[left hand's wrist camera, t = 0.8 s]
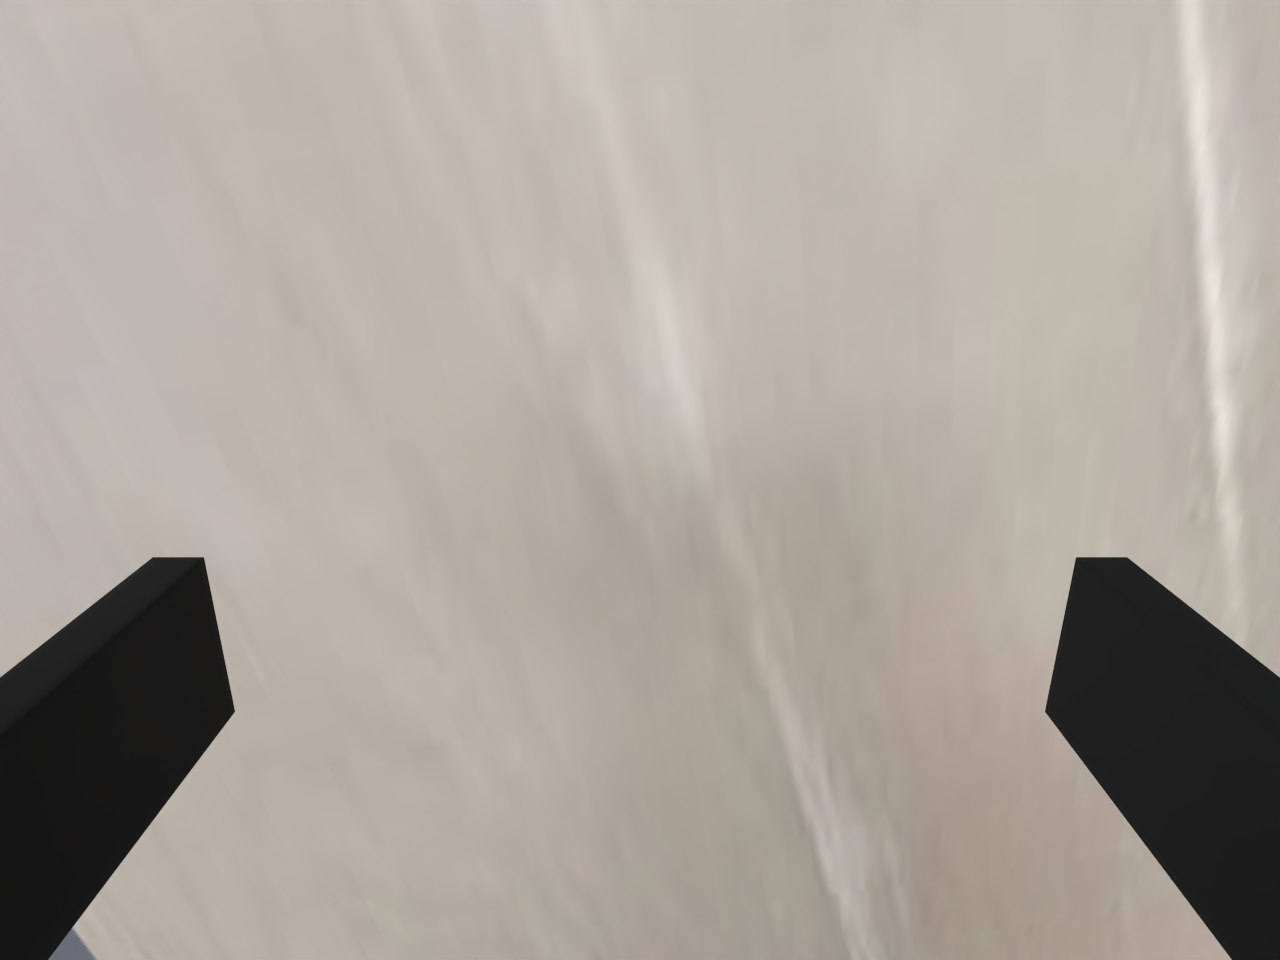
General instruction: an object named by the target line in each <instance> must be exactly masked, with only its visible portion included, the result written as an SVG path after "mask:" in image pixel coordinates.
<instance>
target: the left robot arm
mask: <svg viewBox="0 0 1280 960" xmlns="http://www.w3.org/2000/svg"><path fill="white" fill-rule="evenodd" d="M234 712H235V710H234V705H233V700H232V695H231V690H230V685H229V680H228V675H227V670H226V665H225V660H224V655H223V650H222V645H221V640H220V635H219V630H218V625H217V620H216V615H215V610H214V605H213V600H212V596H211V591H210V586H209V581H208V576H207V571H206V566H205V561H204V557H153V558H152V559H150V560H149V561H148V562H147V563H145V564H144V565H143V566H141V567H140V568H139V569H138V570H136V571H135V572H134V573H133V574H131V575H130V576H129V577H127V578H126V579H125V580H124V581H122V582H121V583H120V584H119V585H117V586H116V587H115V588H113V589H112V590H111V591H110V592H108V593H107V594H106V595H105V596H103V597H102V598H101V599H100V600H98V601H97V602H96V603H94V604H93V605H92V606H91V607H89V608H88V609H87V610H86V611H84V612H83V613H82V614H80V615H79V616H78V617H77V618H75V619H74V620H73V621H72V622H70V623H69V624H68V625H67V626H65V627H64V628H63V629H61V630H60V631H59V632H58V633H56V634H55V635H54V636H53V637H51V638H50V639H49V640H47V641H46V642H45V643H44V644H42V645H41V646H40V647H39V648H37V649H36V650H35V651H33V652H32V653H31V654H30V655H28V656H27V657H26V658H25V659H23V660H22V661H21V662H20V663H18V664H17V665H16V666H14V667H13V668H12V669H11V670H9V671H8V672H7V673H6V674H4V675H3V676H2V677H0V960H48V959H49V958H50V956H51V955H52V954H53V952H54V951H55V950H56V948H57V947H58V946H59V944H60V943H61V942H62V940H63V939H64V938H65V936H66V935H67V934H68V932H69V931H70V930H71V928H72V927H73V926H74V924H75V923H76V922H77V920H78V919H79V918H80V916H81V915H82V914H83V913H84V911H85V910H86V909H87V907H88V906H89V905H90V903H91V902H92V901H93V899H94V898H95V897H96V895H97V894H98V893H99V891H100V890H101V889H102V887H103V886H104V885H105V883H106V882H107V881H108V879H109V878H110V877H111V875H112V874H113V873H114V871H115V870H116V869H117V867H118V866H119V865H120V863H121V862H122V861H123V859H124V858H125V857H126V855H127V854H128V853H129V851H130V850H131V849H132V847H133V846H134V845H135V843H136V842H137V841H138V840H139V838H140V837H141V836H142V834H143V833H144V832H145V830H146V829H147V828H148V826H149V825H150V824H151V822H152V821H153V820H154V818H155V817H156V816H157V814H158V813H159V812H160V810H161V809H162V808H163V806H164V805H165V804H166V802H167V801H168V800H169V798H170V797H171V796H172V794H173V793H174V792H175V790H176V789H177V788H178V786H179V785H180V784H181V782H182V781H183V780H184V778H185V777H186V776H187V774H188V773H189V772H190V771H191V769H192V768H193V767H194V765H195V764H196V763H197V761H198V760H199V759H200V757H201V756H202V755H203V753H204V752H205V751H206V749H207V748H208V747H209V745H210V744H211V743H212V741H213V740H214V739H215V737H216V736H217V735H218V733H219V732H220V731H221V729H222V728H223V727H224V725H225V724H226V723H227V721H228V720H229V719H230V717H231V716H232V715H233V713H234ZM1045 712H1046V713H1047V715H1048V716H1049V717H1050V719H1051V720H1052V721H1053V723H1054V724H1055V725H1056V727H1057V728H1058V729H1059V731H1060V732H1061V733H1062V735H1063V736H1064V737H1065V739H1066V740H1067V741H1068V743H1069V744H1070V745H1071V747H1072V748H1073V749H1074V751H1075V752H1076V753H1077V755H1078V756H1079V757H1080V759H1081V760H1082V761H1083V763H1084V764H1085V765H1086V767H1087V768H1088V769H1089V771H1090V772H1091V773H1092V774H1093V776H1094V777H1095V778H1096V780H1097V781H1098V782H1099V784H1100V785H1101V786H1102V788H1103V789H1104V790H1105V792H1106V793H1107V794H1108V796H1109V797H1110V798H1111V800H1112V801H1113V802H1114V804H1115V805H1116V806H1117V808H1118V809H1119V810H1120V812H1121V813H1122V814H1123V816H1124V817H1125V818H1126V820H1127V821H1128V822H1129V824H1130V825H1131V826H1132V828H1133V829H1134V830H1135V832H1136V833H1137V834H1138V836H1139V837H1140V838H1141V840H1142V841H1143V842H1144V843H1145V845H1146V846H1147V847H1148V849H1149V850H1150V851H1151V853H1152V854H1153V855H1154V857H1155V858H1156V859H1157V861H1158V862H1159V863H1160V865H1161V866H1162V867H1163V869H1164V870H1165V871H1166V873H1167V874H1168V875H1169V877H1170V878H1171V879H1172V881H1173V882H1174V883H1175V885H1176V886H1177V887H1178V889H1179V890H1180V891H1181V893H1182V894H1183V895H1184V897H1185V898H1186V899H1187V901H1188V902H1189V903H1190V905H1191V906H1192V907H1193V909H1194V910H1195V911H1196V913H1197V914H1198V915H1199V916H1200V918H1201V919H1202V920H1203V922H1204V923H1205V924H1206V926H1207V927H1208V928H1209V930H1210V931H1211V932H1212V934H1213V935H1214V936H1215V938H1216V939H1217V940H1218V942H1219V943H1220V944H1221V946H1222V947H1223V948H1224V950H1225V951H1226V952H1227V954H1228V955H1229V956H1230V958H1231V959H1232V960H1280V677H1278V676H1277V675H1276V674H1274V673H1273V672H1272V671H1271V670H1269V669H1268V668H1267V667H1266V666H1264V665H1263V664H1262V663H1260V662H1259V661H1258V660H1257V659H1255V658H1254V657H1253V656H1252V655H1250V654H1249V653H1248V652H1247V651H1245V650H1244V649H1243V648H1241V647H1240V646H1239V645H1238V644H1236V643H1235V642H1234V641H1233V640H1231V639H1230V638H1229V637H1227V636H1226V635H1225V634H1224V633H1222V632H1221V631H1220V630H1219V629H1217V628H1216V627H1215V626H1213V625H1212V624H1211V623H1210V622H1208V621H1207V620H1206V619H1205V618H1203V617H1202V616H1201V615H1200V614H1198V613H1197V612H1196V611H1194V610H1193V609H1192V608H1191V607H1189V606H1188V605H1187V604H1186V603H1184V602H1183V601H1182V600H1180V599H1179V598H1178V597H1177V596H1175V595H1174V594H1173V593H1172V592H1170V591H1169V590H1168V589H1167V588H1165V587H1164V586H1163V585H1161V584H1160V583H1159V582H1158V581H1156V580H1155V579H1154V578H1153V577H1151V576H1150V575H1149V574H1147V573H1146V572H1145V571H1144V570H1142V569H1141V568H1140V567H1139V566H1137V565H1136V564H1135V563H1133V562H1132V561H1131V560H1130V559H1128V558H1127V557H1076V561H1075V566H1074V571H1073V576H1072V581H1071V586H1070V591H1069V596H1068V600H1067V605H1066V610H1065V615H1064V620H1063V625H1062V630H1061V635H1060V640H1059V645H1058V650H1057V655H1056V660H1055V665H1054V670H1053V675H1052V680H1051V685H1050V690H1049V695H1048V700H1047V705H1046V710H1045Z"/></svg>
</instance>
